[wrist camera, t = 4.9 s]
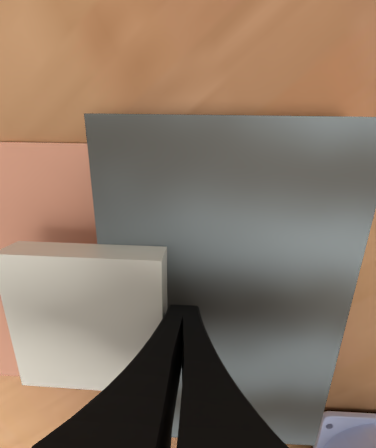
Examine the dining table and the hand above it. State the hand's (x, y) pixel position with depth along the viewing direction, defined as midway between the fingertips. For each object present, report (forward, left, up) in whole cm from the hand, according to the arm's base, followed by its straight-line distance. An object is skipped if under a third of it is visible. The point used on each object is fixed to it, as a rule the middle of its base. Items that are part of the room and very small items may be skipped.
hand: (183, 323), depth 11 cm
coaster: (0, +4, -1) cm, 4 cm away
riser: (0, -2, -4) cm, 4 cm away
